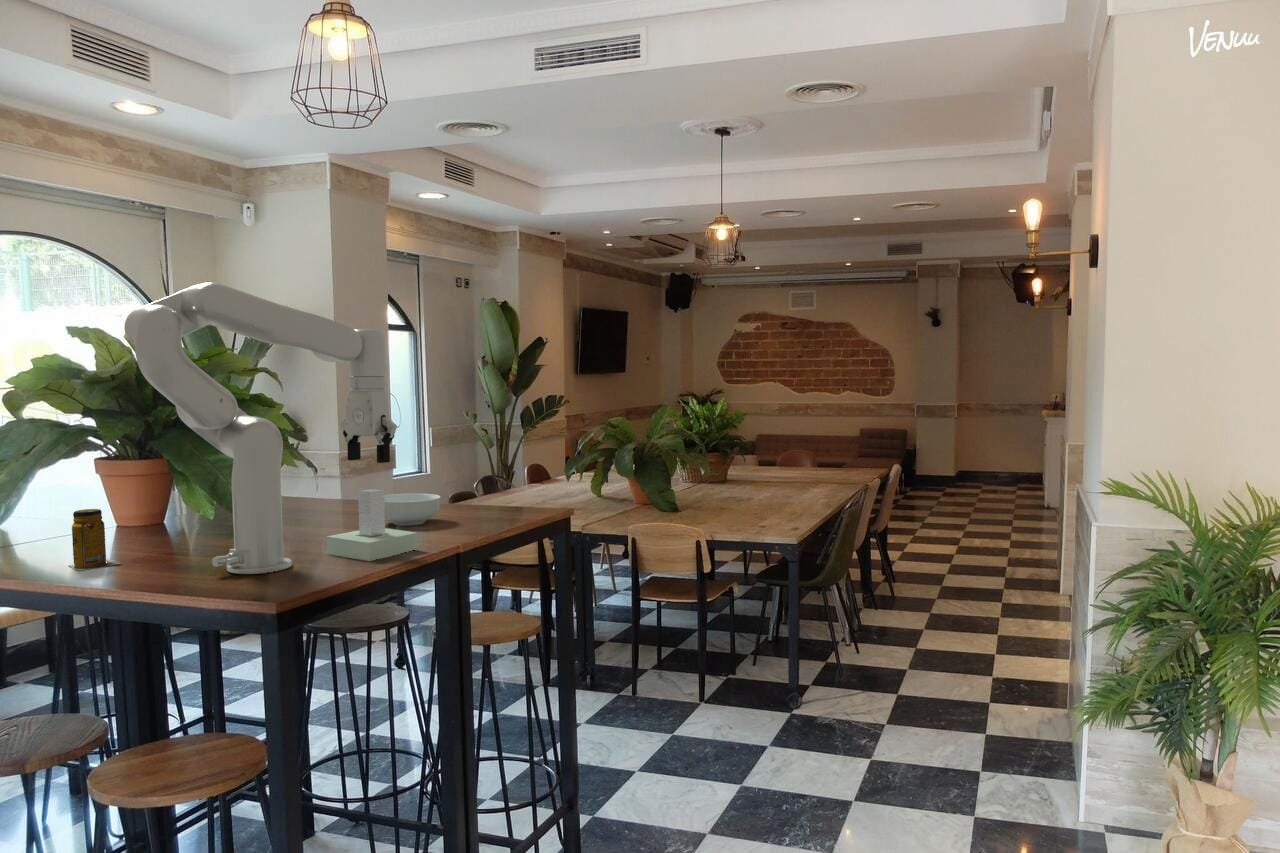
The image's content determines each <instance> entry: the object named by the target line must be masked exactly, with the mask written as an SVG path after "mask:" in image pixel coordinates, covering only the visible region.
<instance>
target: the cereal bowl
mask: <svg viewBox="0 0 1280 853" xmlns="http://www.w3.org/2000/svg"><path fill="white" fill-rule="evenodd" d="M441 500H442V498H441V495H438V494H433V493H416V492H413V493H411V492H409V493H408V492H407V493H391V494H384V504H385V521H388V522H391V523H392V525H396V526H417V525H422V524H424V523H425V522H426V521H428V520H430V519H433V518H434V517H436V515H437V514H438V513H439V511H440V508H441V502H442V501H441Z"/></svg>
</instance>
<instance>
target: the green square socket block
mask: <svg viewBox="0 0 1280 853" xmlns="http://www.w3.org/2000/svg"><path fill="white" fill-rule="evenodd" d="M418 540H419V538H418V532H415V531H409V530H408V531H407V530H401V529H394V528H386V527H385V535H382V536H377V537H372V538H369V537H362V536H359V529H358V530H353V531H349V532H343V533H338V534H332V535H327V536H326V555H329V556H336V557H340V558H341V557H342V558H348V559H354V560H358V561H359V560H360V561H366V562H370V561H371V562H372V561H376V559H377V560H380V559H384V558H389V557H393V555H394V556H397V554H398V555H401V554H400V553H403V552H407V551H411V550H415V549H418V550H419V546H418V544H419V543H418ZM411 552H412V551H411ZM407 553H408V552H407ZM403 554H404V553H403Z"/></svg>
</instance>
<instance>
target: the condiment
mask: <svg viewBox="0 0 1280 853" xmlns="http://www.w3.org/2000/svg"><path fill="white" fill-rule="evenodd" d="M72 517H73V523H72V524H71V534H72V554H73V555H72V556H73V564H69V565H68V566H69V567H70V568H71V569H73V570H75V571H83V570H84V571H86V570H92V569H98V568H102V567H109V566H110V567H111V566H115V565H120V564H122V562H121V563H120V562H118V561H116V560H114V559H107V550H106V547H107V546H106V531H105V530H106V529H105V527H106V526H105V522H104V521H103V520H102V519H103V515H102V510H101V509H98V508H87V509H80V510H79V509H78V510H75V511H74V512H73V514H72ZM106 562H107V563H106Z"/></svg>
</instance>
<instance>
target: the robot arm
mask: <svg viewBox="0 0 1280 853" xmlns="http://www.w3.org/2000/svg"><path fill="white" fill-rule="evenodd" d="M207 326H213V327H216V328H219V329H221V330H224V331H228V332H232V333H235V334H238V335H241V336H244V337H247V338H249V339H253V340H256V341H259V342H262V343H266V344H271V345H277V346H287V347H295V348H300V349H304V350H308V351H310V352H311V353H312V355H314V356H315V357H316V358H318V360H321V361H323V362H328V363H329V362H330V363H333V362H334V363H336V362H344V363H345V362H349V390H348V391H347V396H346V403H345V411H344V413H345V415H344V420H342V421H341V422H340V427H341V430H342V434H343V437H344V438H345V443H346V444H347V450H346V451H347V460H348V461H359V460H361V456H362V454H361V452H362V451H361V442H360V441H359V440H360V439H361V437H372V436H374V438H375V439H376V441H377V443H378V444H377V445H376V462H377V463H378V464H383V463H385V464H386V463H390V460H391V454H390V453H391V452H390V448H391V445H392V443H393V440H394V438H395V434H396V431H397V427H398V426H397V424H395V423H394V422H393V421H392V420H391V419H390V410H389V408H390V407H389V400H388V394H387V391H386V376H385V375H386V363H385V362H386V358H385V357H386V354H385V353H386V352H385V350H386V346H385V345H386V344H385V333H384V332H383V331H382V330H380V329H375V328H357V329H354V328H353V327H351V326H349V325H346V324H344V323H341V322H338V321H336V320H333V319H330V318H327V317H323V316H320V315H317V314H313V313H310V312H306V311H303V310H299V309H297V308H294V307H290V306H288V305H284V304H280V303H276V302H274V301H271V300H268V299H265V298H261V297H258V296H257V295H256V296H255V295H253V294H250V293H247V292H245V291H242V290H239V289H236V288H233V287H231V286H227V285H226V284H222V283H217V282H211V281H209V282H204V283H199V284H195V285H191V286H189V287H188V288H184V289H182V290H179V291H178V292H176V293H173V294H171V295H169V296H168V295H167V296H165V297H163V298H161V299H159V300H158V299H157V300H155V301H153V302H151V303H150V302H149V303H148V304H145V305H143V306H140V307H137V308H136V309H134V310H132V311H131V312H130V313H129V314H128V315H127V317H126V319H125V322H124V332H125V335H126V338H127V339H128V340H129V342H131V343H132V344H133V345H134V351H135V359H136V362H137V365H138V368H139V370H140V372H141V374H142V375H143V377H144V378H145V380H146V381H147V382H148V383H149V384H150V385H151V386H152V387H153V388H154V389H155V390H157V391H158V393H160V394H161V395H162V396H164V397H165V398H166V399H167V400H168V401H169V402H170V403H172V404H173V405H174V406H175V411H176V413H177V415H178V417H179V419H180V420H181V422H183V423H184V424H185V425H186V426H187V427H188V428H190V430H192V431H194V433H196V434H197V435H199V436H200V437H201V438H203V439H204V440H205V441H206V442H208V443H209V444H210V445H211V446H213V447H214V448H215V449H217V450H218V451H220V452H221V453H222V454H224V455H225V456H226V457H229V458H230V459H232V460H233V463H232V469H231V499H232V502H231V503H232V523H233V524H232V526H233V548H229V552H228V553H227V554H226V555H220V556H219V555H218V556H215V557H214V556H213V558H212V560H211V564H212V566H214V567H221V566H224V565H226V570H227V572H229V573H230V574H237V575H258V574H269V573H275V572H279V571H283V570H286V569H289V568H290V567H292V563H293V561H292V559H291V558H289V557H284V532H283V530H284V529H283V528H284V527H283V506H282V504H283V503H282V502H283V501H282V482H281V480H282V477H281V476H282V475H281V474H282V473H281V472H282V461H283V453H284V452H283V450H284V441H283V437H282V436H283V435H282V433H281V431H280V429H279V428H278V427H277V425H276V424H274V423H273V422H272V421H270V420H269V419H267V418H263V417H259V416H253V415H252V416H251V415H248V414H247V413H246V412H245V411H243V410H242V409H241V408H240V407H239V405H238V401H237V398H236V397H235V395H234V394H233V393H232V392H231V391H230V390H229V389H228V388H226V387H225V386H223V385H222V384H220V383H219V382H218V381H217V380H215V379H214V378H213V377H212V376H210V375H209V374H208V373H206V372H205V371H204V370H203V369H202V368H201V367H199V366H198V365H197V364H196V363H195V362H194V361H192V360H191V359H190V358H189V356H188V355H187V353H185V350H184V347H183V342H182V341H183V340H182V338H183V337H185V336H186V335H190V334H191V333H193V332H195V331H198V330H200V329H203V328H204V327H207ZM274 571H275V572H274ZM268 572H269V573H268Z"/></svg>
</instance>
